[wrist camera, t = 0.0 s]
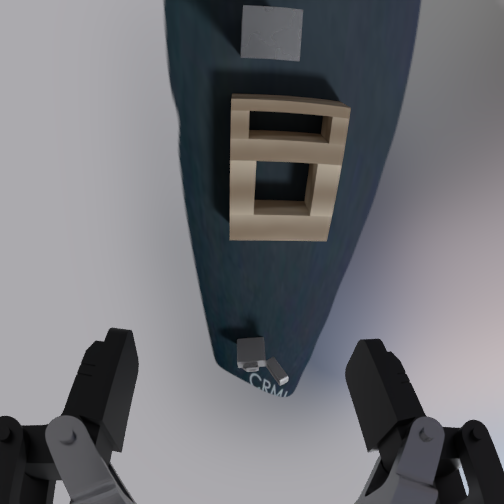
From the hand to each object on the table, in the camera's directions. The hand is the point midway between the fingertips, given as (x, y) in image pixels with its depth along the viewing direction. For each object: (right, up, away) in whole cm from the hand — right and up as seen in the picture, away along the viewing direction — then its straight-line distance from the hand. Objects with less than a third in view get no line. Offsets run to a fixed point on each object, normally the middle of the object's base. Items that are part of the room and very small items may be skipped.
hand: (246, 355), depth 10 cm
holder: (+3, +12, +19) cm, 23 cm away
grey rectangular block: (+1, +22, +11) cm, 25 cm away
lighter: (+1, -10, +37) cm, 38 cm away
